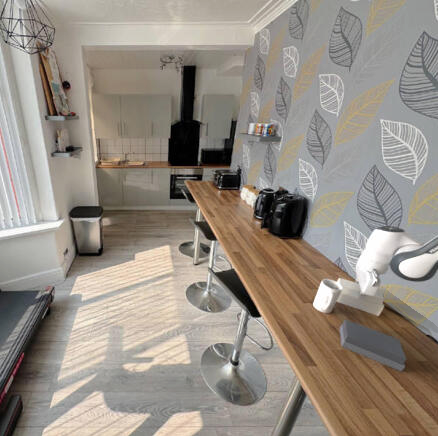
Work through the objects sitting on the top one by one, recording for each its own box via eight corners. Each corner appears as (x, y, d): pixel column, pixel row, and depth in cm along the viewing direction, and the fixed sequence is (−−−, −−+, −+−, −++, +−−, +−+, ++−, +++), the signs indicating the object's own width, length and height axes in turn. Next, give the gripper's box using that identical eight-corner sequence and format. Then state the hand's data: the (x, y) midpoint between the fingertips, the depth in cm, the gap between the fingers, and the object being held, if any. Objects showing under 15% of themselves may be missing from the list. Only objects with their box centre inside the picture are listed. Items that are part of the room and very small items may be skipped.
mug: (312, 299, 101) (321, 276, 96) (331, 305, 98) (341, 282, 93) (312, 314, 93) (322, 290, 88) (333, 322, 90) (344, 297, 85)
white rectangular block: (374, 302, 100) (379, 293, 98) (378, 316, 93) (384, 306, 91) (331, 288, 108) (335, 280, 106) (332, 300, 101) (337, 291, 99)
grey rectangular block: (393, 350, 80) (400, 339, 78) (401, 371, 73) (409, 361, 71) (339, 328, 87) (344, 318, 85) (341, 346, 80) (347, 336, 78)
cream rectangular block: (378, 295, 98) (380, 290, 97) (381, 304, 93) (384, 299, 92) (336, 282, 104) (339, 277, 103) (338, 290, 100) (340, 285, 99)
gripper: (390, 280, 83) (373, 310, 89) (377, 255, 99) (364, 281, 105) (367, 274, 86) (352, 303, 92) (358, 250, 102) (346, 276, 108)
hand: (358, 291), depth 98 cm, fingers open, 8 cm apart
